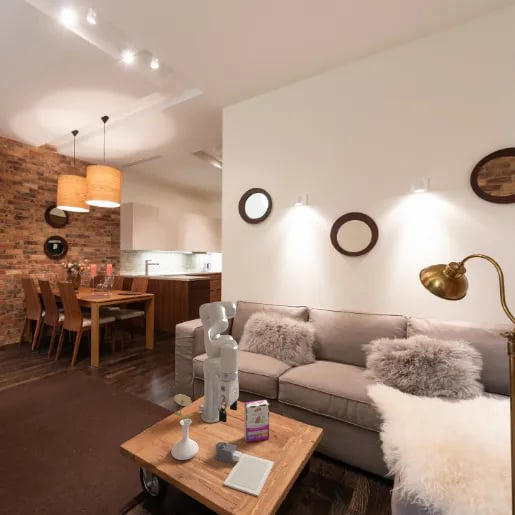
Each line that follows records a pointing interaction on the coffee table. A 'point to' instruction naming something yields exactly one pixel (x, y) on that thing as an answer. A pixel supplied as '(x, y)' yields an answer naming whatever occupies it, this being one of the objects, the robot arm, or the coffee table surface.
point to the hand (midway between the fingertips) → (228, 415)
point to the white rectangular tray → (249, 474)
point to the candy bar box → (256, 420)
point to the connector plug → (227, 453)
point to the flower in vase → (184, 433)
